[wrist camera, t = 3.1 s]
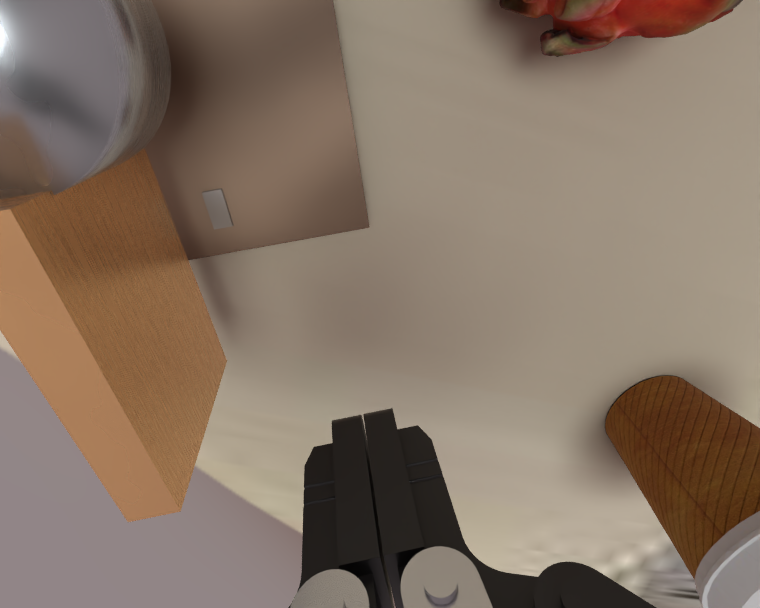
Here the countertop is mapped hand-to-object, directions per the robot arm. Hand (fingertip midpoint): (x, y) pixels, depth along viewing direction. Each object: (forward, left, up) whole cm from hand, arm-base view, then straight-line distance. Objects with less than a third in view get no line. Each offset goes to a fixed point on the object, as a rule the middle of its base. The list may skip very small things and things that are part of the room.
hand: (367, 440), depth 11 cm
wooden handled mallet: (-5, -6, -8) cm, 12 cm away
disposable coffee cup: (+15, +19, -13) cm, 27 cm away
